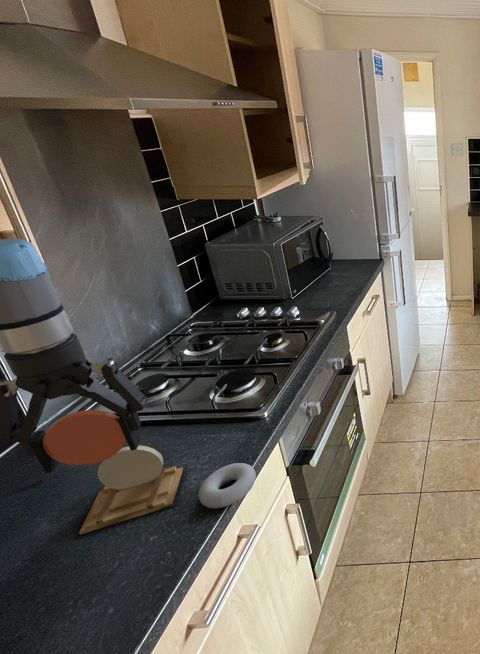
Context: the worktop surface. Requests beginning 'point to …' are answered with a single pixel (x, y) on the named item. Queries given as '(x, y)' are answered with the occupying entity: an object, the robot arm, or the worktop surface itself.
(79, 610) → the worktop surface
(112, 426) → the terracotta coaster
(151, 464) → the cream coaster
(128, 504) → the coaster rack
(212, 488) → the donut
